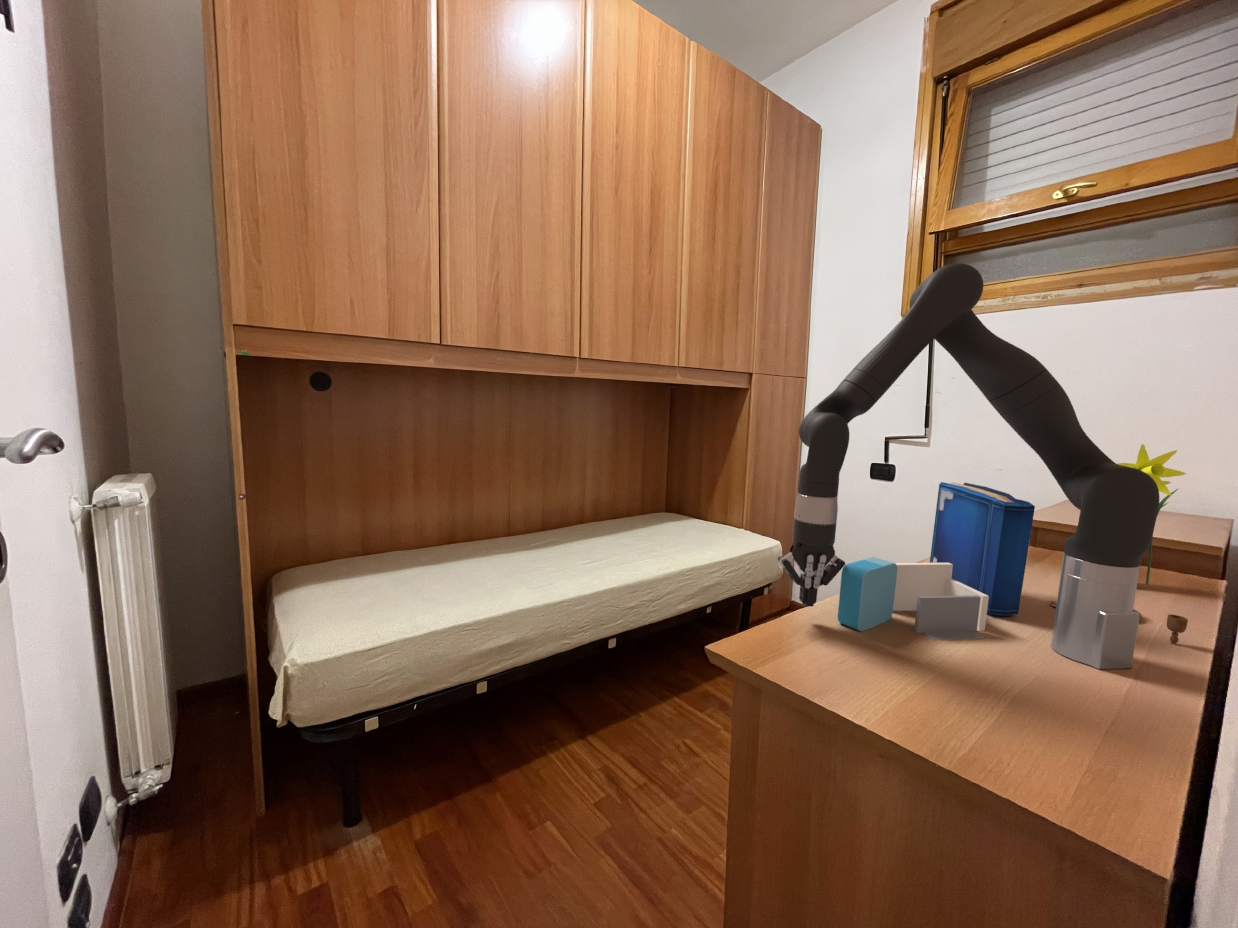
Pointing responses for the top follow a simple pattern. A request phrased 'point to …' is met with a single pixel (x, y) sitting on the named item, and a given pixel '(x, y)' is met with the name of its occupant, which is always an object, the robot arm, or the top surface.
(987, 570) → the book
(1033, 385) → the robot arm
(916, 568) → the shelf nook
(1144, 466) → the daffodil flowers
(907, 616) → the top surface
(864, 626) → the data package
